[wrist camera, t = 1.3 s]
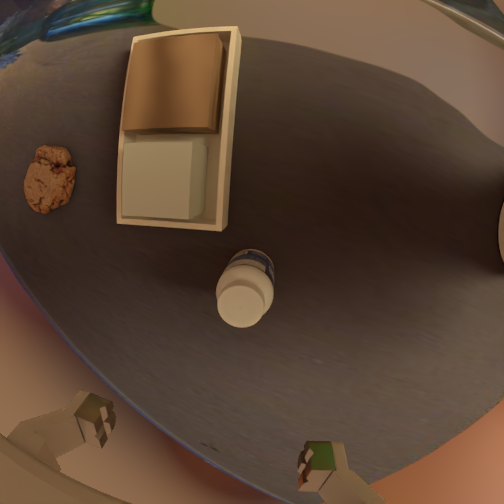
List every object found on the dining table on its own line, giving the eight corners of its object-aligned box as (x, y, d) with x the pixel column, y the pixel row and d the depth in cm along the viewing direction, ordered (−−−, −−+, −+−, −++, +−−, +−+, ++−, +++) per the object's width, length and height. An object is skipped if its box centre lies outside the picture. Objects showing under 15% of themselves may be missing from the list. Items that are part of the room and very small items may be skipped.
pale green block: (208, 147, 30) (192, 141, 24) (204, 211, 32) (188, 219, 26) (149, 147, 31) (124, 143, 25) (147, 207, 32) (121, 215, 27)
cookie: (23, 187, 34) (10, 189, 31) (53, 130, 32) (39, 128, 29) (56, 229, 35) (43, 234, 33) (89, 170, 33) (76, 171, 30)
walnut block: (226, 51, 27) (217, 33, 22) (218, 134, 30) (207, 127, 25) (152, 57, 28) (134, 42, 23) (142, 135, 30) (121, 130, 25)
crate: (241, 39, 27) (237, 26, 24) (227, 225, 33) (221, 231, 29) (145, 47, 28) (133, 37, 24) (131, 218, 34) (116, 223, 30)
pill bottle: (269, 297, 34) (264, 340, 25) (224, 286, 35) (205, 326, 25) (279, 253, 33) (279, 285, 24) (232, 243, 33) (214, 270, 24)
